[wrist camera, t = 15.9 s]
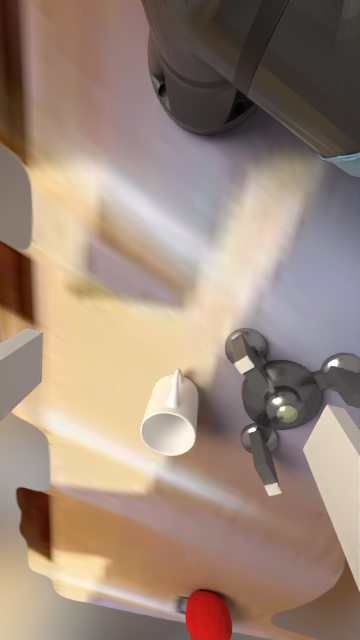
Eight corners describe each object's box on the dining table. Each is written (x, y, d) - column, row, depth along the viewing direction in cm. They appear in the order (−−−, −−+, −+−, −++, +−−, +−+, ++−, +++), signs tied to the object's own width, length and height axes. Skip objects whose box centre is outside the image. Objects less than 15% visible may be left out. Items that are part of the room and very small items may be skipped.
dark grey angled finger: (248, 432, 50) (255, 471, 42) (258, 429, 49) (267, 467, 42) (260, 455, 52) (269, 496, 44) (271, 452, 51) (281, 493, 43)
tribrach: (231, 323, 44) (234, 339, 39) (370, 358, 44) (394, 378, 38) (195, 434, 53) (194, 459, 48) (310, 464, 53) (322, 493, 47)
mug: (205, 361, 47) (203, 399, 37) (195, 414, 52) (191, 460, 42) (158, 353, 48) (144, 388, 38) (152, 406, 52) (138, 450, 42)
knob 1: (261, 360, 44) (271, 389, 37) (250, 366, 45) (258, 396, 37) (241, 333, 43) (248, 358, 35) (230, 340, 44) (234, 365, 36)
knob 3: (325, 375, 44) (349, 408, 36) (331, 365, 43) (356, 396, 36) (359, 385, 44) (390, 420, 36) (366, 375, 43) (399, 408, 36)
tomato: (196, 577, 71) (194, 633, 61) (238, 595, 71) (242, 653, 62) (178, 596, 75) (173, 651, 65) (218, 613, 76) (219, 670, 66)
